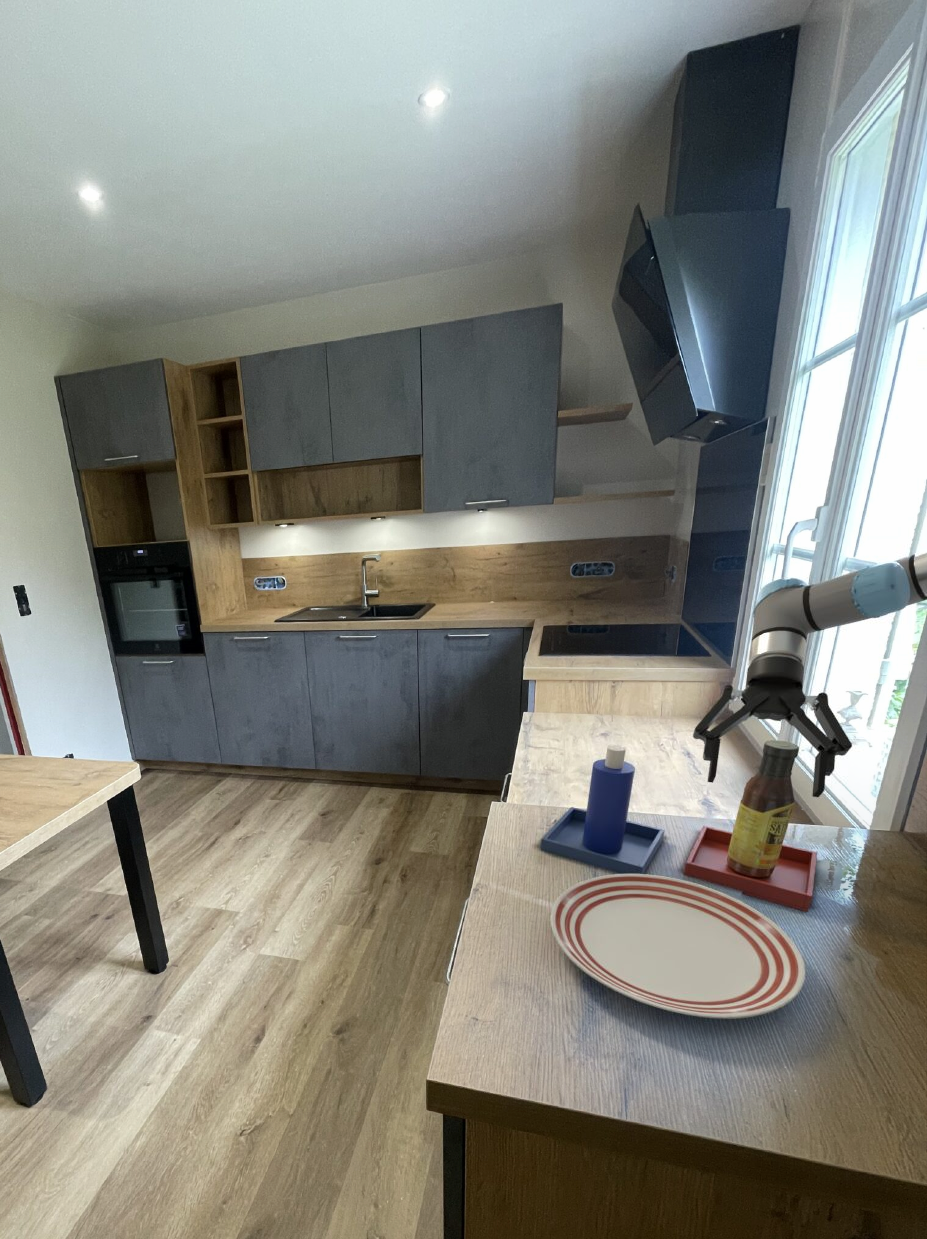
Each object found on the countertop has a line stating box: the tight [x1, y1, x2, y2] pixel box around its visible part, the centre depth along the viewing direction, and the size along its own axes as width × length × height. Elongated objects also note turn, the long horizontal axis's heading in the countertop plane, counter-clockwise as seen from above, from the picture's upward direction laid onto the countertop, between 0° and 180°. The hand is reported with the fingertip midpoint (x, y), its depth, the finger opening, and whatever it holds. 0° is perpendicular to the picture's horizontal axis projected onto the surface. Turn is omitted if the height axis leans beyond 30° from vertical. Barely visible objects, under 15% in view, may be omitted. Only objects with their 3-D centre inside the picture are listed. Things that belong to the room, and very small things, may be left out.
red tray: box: [683, 825, 818, 913], centre depth 92 cm, size 15×14×2 cm
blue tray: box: [539, 806, 666, 874], centre depth 100 cm, size 15×14×2 cm
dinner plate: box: [549, 873, 807, 1019], centre depth 76 cm, size 27×27×3 cm
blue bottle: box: [582, 744, 636, 854], centre depth 97 cm, size 6×6×17 cm
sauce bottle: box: [727, 739, 800, 878], centre depth 88 cm, size 7×6×20 cm
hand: (763, 786), depth 93 cm, fingers open, 13 cm apart
